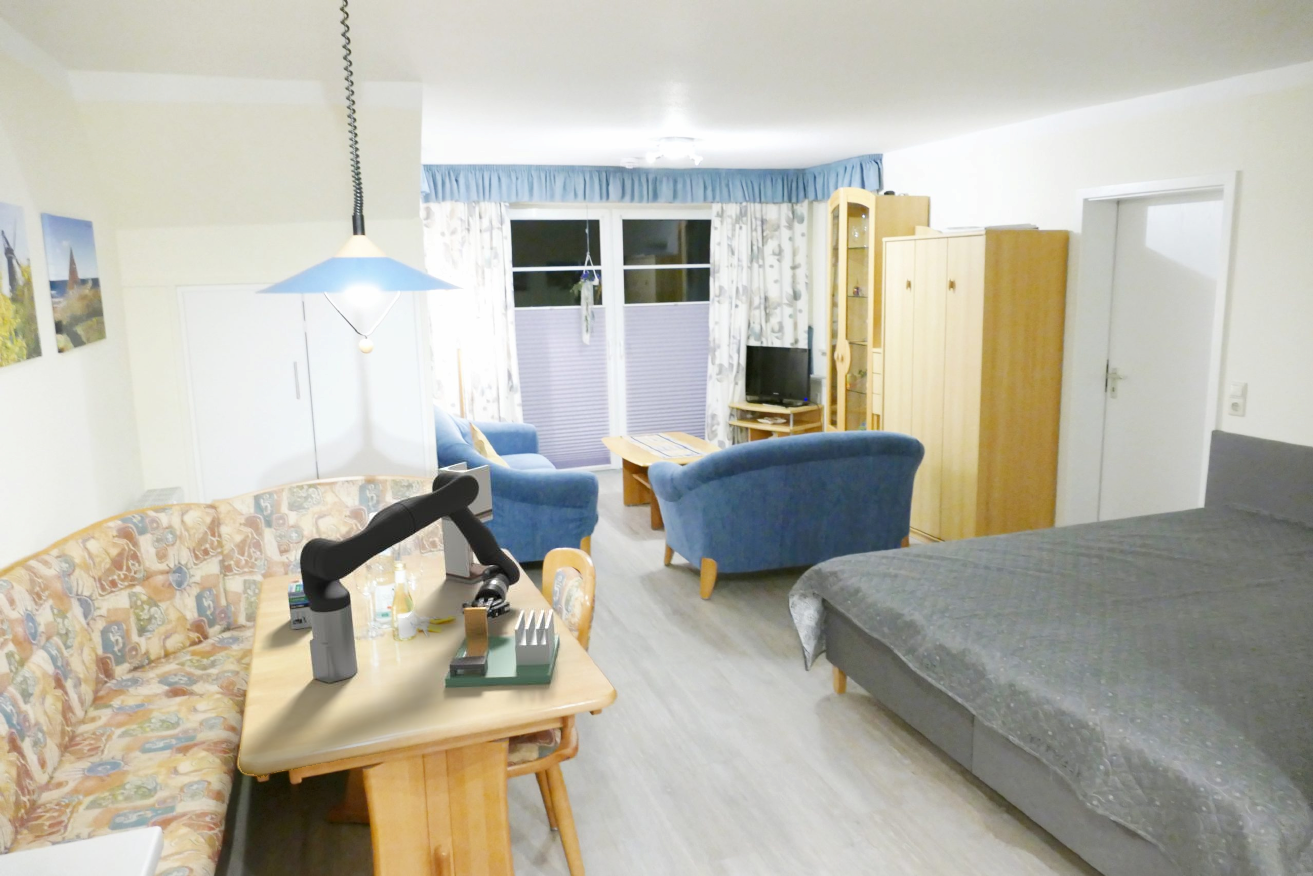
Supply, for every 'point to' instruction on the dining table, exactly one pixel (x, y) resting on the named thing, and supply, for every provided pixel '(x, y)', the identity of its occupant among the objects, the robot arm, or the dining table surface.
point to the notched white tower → (454, 542)
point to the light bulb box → (298, 605)
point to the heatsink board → (510, 657)
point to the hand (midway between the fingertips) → (480, 620)
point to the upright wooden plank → (476, 632)
